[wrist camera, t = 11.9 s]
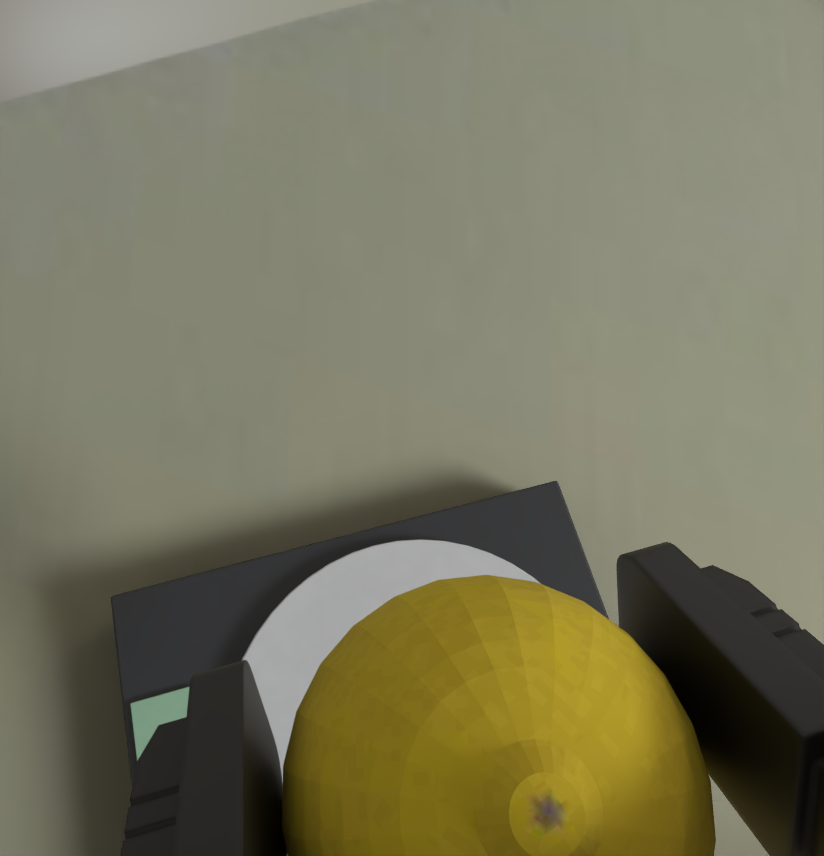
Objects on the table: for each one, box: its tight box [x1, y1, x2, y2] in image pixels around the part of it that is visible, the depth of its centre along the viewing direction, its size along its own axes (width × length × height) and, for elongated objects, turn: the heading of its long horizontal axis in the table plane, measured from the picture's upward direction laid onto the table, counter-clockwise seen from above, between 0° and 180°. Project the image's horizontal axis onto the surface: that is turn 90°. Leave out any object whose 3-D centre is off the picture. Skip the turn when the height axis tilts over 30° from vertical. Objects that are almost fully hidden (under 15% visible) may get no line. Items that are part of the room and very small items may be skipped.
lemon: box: [282, 575, 716, 856], centre depth 10 cm, size 6×6×8 cm
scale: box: [111, 481, 609, 856], centre depth 21 cm, size 15×13×3 cm
